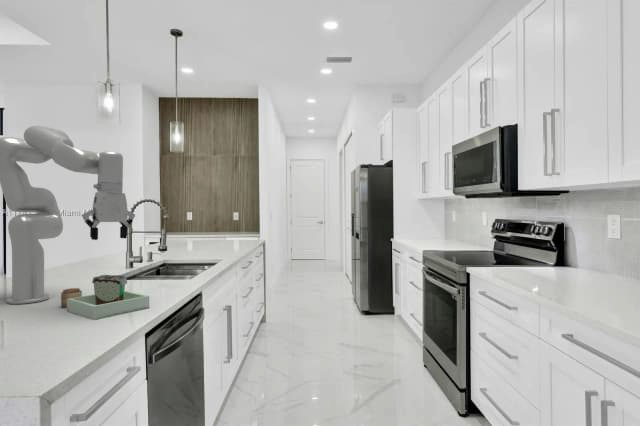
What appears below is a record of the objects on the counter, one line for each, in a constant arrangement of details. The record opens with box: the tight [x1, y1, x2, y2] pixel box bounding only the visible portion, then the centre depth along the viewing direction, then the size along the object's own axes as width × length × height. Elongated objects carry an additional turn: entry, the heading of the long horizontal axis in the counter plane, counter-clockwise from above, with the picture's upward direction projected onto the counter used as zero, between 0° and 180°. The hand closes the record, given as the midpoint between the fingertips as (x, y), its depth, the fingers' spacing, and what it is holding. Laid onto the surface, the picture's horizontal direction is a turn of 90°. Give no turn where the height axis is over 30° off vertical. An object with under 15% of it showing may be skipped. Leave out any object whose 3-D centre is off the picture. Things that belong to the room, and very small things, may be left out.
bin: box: [66, 290, 150, 321], centre depth 133 cm, size 18×18×4 cm
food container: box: [91, 274, 128, 305], centre depth 135 cm, size 12×6×10 cm, turn 73°
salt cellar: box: [60, 287, 83, 309], centre depth 137 cm, size 6×6×6 cm
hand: (109, 238), depth 136 cm, fingers open, 9 cm apart
